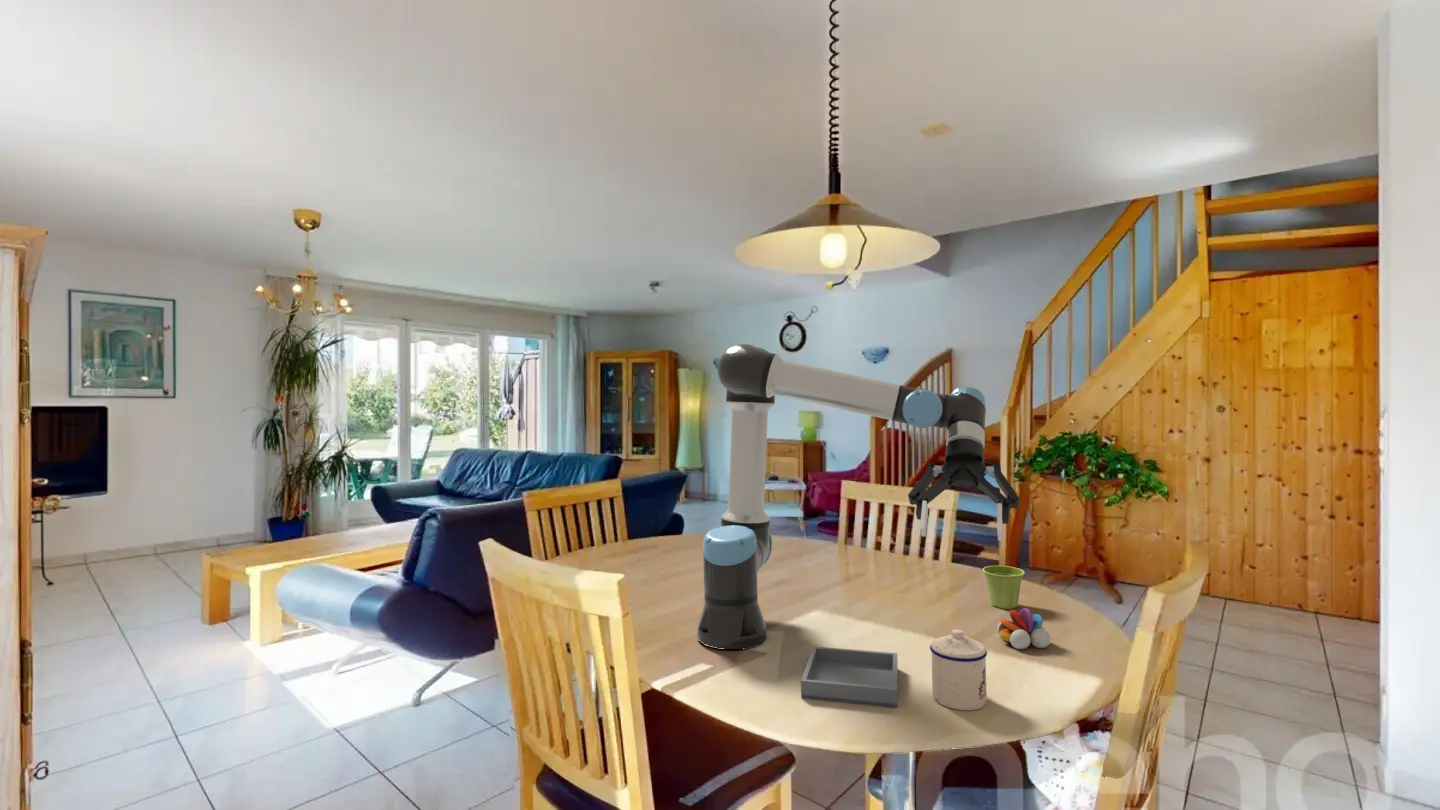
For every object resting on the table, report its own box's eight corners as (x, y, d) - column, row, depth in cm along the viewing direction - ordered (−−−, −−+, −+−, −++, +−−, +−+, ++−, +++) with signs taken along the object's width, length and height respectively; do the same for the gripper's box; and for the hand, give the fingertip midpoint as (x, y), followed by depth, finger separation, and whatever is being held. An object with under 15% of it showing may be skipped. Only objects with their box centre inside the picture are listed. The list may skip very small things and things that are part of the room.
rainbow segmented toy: (990, 637, 137) (989, 603, 137) (1034, 635, 137) (1033, 601, 137) (1011, 652, 128) (1010, 616, 128) (1057, 650, 129) (1057, 614, 129)
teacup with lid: (994, 713, 103) (992, 642, 103) (935, 710, 105) (933, 639, 105) (977, 681, 115) (976, 617, 115) (925, 679, 117) (923, 615, 117)
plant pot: (1030, 612, 152) (1029, 575, 151) (988, 611, 153) (988, 575, 153) (1018, 600, 161) (1017, 565, 161) (979, 599, 162) (978, 565, 162)
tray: (801, 698, 110) (800, 680, 110) (813, 661, 126) (813, 646, 126) (897, 708, 106) (896, 689, 106) (897, 668, 121) (897, 653, 121)
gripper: (1031, 460, 130) (1034, 550, 116) (906, 459, 141) (895, 541, 127) (1031, 435, 125) (1034, 526, 112) (901, 437, 136) (889, 519, 123)
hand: (960, 534), depth 120 cm, fingers open, 13 cm apart
